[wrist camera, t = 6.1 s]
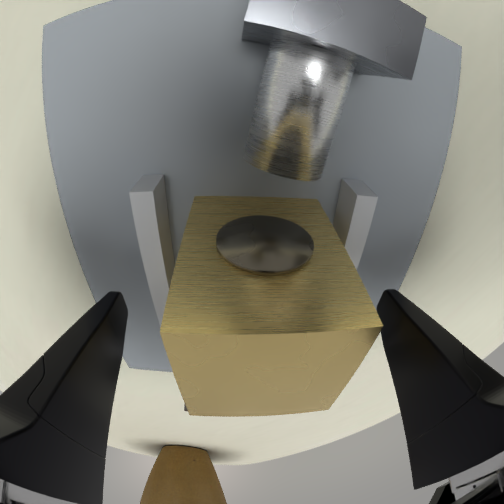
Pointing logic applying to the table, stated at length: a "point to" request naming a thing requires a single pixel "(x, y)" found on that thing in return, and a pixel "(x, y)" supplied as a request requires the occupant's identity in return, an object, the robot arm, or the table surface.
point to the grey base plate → (221, 147)
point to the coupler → (264, 309)
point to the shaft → (319, 72)
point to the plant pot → (183, 478)
